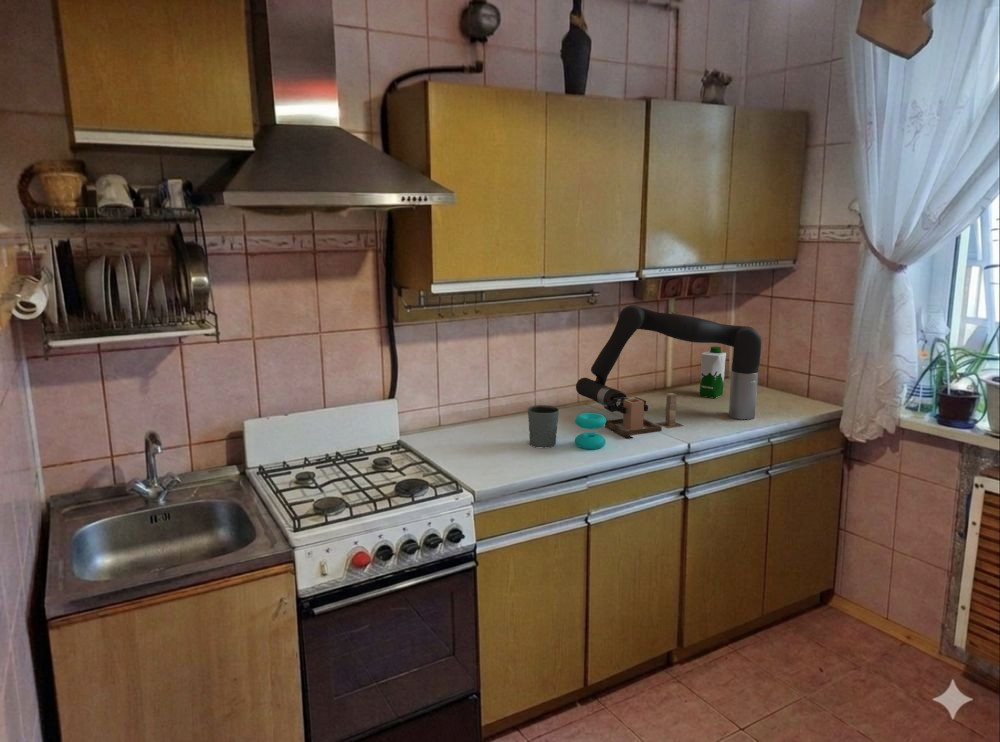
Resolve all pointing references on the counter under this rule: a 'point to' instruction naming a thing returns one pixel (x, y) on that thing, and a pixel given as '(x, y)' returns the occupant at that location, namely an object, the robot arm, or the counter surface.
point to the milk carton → (712, 372)
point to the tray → (627, 434)
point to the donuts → (589, 438)
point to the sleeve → (633, 414)
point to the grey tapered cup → (543, 425)
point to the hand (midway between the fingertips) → (636, 409)
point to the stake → (670, 412)
